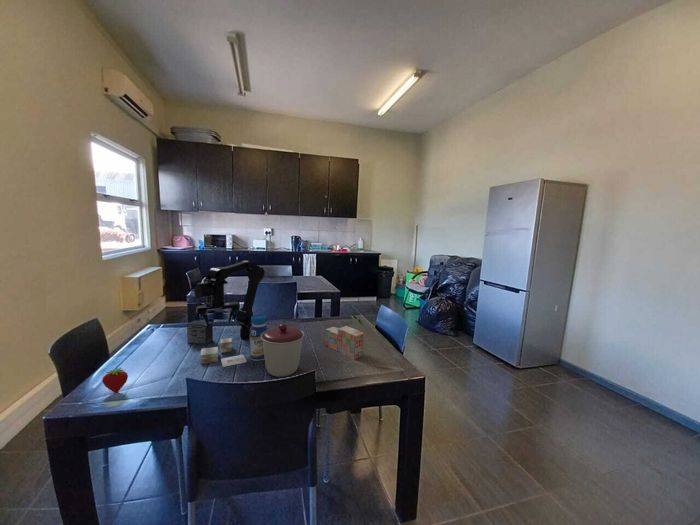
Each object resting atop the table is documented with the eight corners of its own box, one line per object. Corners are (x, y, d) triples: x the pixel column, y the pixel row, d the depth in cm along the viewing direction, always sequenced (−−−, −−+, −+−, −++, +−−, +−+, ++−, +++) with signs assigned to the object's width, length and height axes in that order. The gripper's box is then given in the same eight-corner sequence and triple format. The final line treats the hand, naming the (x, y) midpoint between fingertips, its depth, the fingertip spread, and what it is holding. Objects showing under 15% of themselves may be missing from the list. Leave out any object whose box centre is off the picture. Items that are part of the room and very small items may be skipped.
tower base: (218, 354, 137) (218, 346, 136) (218, 361, 130) (217, 353, 130) (201, 356, 134) (201, 348, 133) (200, 363, 128) (200, 355, 127)
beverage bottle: (262, 351, 142) (262, 312, 139) (271, 357, 136) (271, 317, 134) (246, 356, 136) (246, 315, 134) (254, 363, 130) (254, 320, 128)
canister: (305, 361, 134) (307, 317, 131) (300, 382, 116) (301, 332, 113) (266, 360, 134) (267, 316, 131) (254, 381, 116) (254, 331, 113)
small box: (213, 340, 153) (213, 321, 151) (206, 345, 146) (206, 325, 145) (194, 338, 154) (194, 319, 152) (186, 343, 147) (186, 323, 146)
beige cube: (231, 347, 146) (231, 337, 145) (231, 351, 141) (231, 341, 140) (220, 348, 144) (220, 339, 143) (220, 352, 139) (220, 343, 138)
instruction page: (243, 354, 138) (243, 354, 138) (246, 362, 131) (246, 361, 131) (220, 359, 132) (220, 358, 132) (223, 367, 126) (223, 366, 126)
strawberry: (109, 388, 107) (107, 362, 105) (132, 386, 108) (130, 361, 107) (98, 397, 101) (96, 371, 100) (123, 396, 103) (121, 369, 101)
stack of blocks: (324, 345, 152) (325, 323, 151) (333, 342, 157) (334, 321, 155) (354, 360, 138) (355, 335, 136) (363, 356, 143) (364, 332, 141)
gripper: (235, 288, 151) (235, 317, 154) (194, 291, 141) (195, 322, 144) (239, 293, 142) (239, 323, 144) (196, 297, 132) (197, 330, 134)
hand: (218, 324), depth 142 cm, fingers open, 9 cm apart
